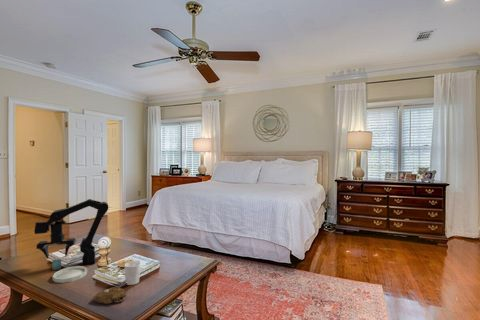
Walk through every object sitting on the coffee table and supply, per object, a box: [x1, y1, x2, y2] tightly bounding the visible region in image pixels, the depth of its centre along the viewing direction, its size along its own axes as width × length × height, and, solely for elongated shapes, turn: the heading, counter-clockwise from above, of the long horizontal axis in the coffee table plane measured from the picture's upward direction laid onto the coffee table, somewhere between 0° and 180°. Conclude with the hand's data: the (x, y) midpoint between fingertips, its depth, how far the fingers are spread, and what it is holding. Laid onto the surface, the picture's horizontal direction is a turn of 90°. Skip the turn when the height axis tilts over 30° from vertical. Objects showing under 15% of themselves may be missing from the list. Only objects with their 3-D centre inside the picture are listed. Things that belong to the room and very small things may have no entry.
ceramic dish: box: [52, 265, 88, 284], centre depth 148 cm, size 16×16×2 cm
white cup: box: [124, 260, 141, 286], centre depth 141 cm, size 8×8×10 cm
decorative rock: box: [92, 286, 127, 305], centre depth 125 cm, size 11×4×15 cm
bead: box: [51, 258, 62, 271], centre depth 157 cm, size 4×4×5 cm
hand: (56, 257), depth 157 cm, fingers open, 9 cm apart
